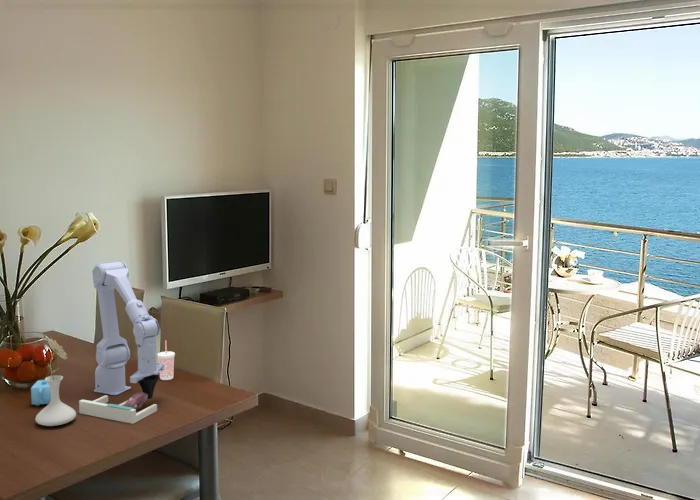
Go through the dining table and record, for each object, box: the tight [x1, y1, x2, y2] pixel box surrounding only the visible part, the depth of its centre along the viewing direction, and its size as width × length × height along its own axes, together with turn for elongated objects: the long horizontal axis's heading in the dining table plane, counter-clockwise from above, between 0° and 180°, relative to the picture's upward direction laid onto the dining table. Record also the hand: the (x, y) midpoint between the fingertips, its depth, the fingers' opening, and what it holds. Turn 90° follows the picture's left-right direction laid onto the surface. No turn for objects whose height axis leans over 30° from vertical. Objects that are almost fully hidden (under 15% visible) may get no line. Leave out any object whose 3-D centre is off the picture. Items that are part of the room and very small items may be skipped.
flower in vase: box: [35, 338, 77, 427], centre depth 207 cm, size 13×11×25 cm
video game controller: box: [123, 390, 148, 410], centre depth 217 cm, size 10×5×7 cm, turn 165°
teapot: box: [30, 379, 51, 407], centre depth 224 cm, size 12×6×8 cm, turn 7°
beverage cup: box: [156, 339, 176, 381], centre depth 248 cm, size 6×6×14 cm
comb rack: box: [78, 394, 158, 425], centre depth 216 cm, size 20×12×4 cm, turn 68°
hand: (148, 398), depth 222 cm, fingers closed
